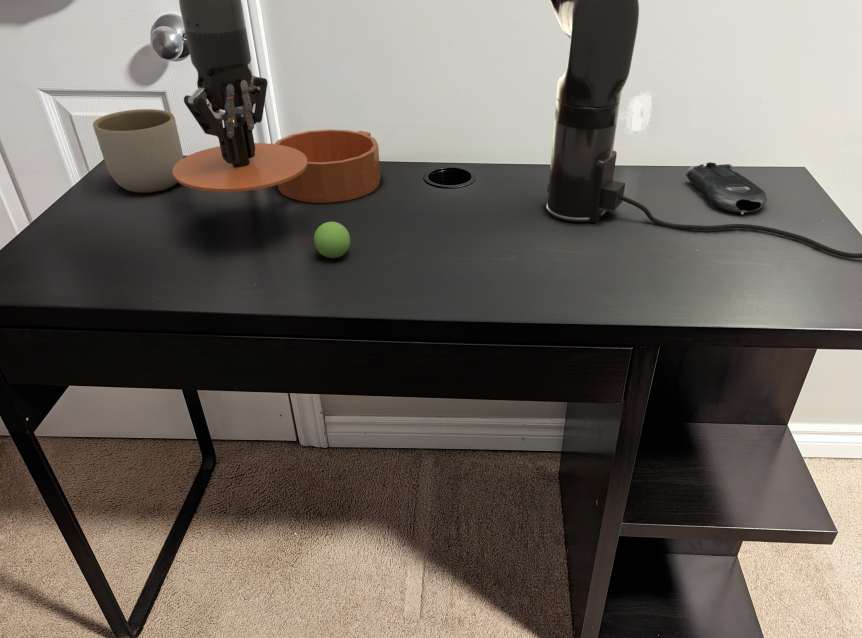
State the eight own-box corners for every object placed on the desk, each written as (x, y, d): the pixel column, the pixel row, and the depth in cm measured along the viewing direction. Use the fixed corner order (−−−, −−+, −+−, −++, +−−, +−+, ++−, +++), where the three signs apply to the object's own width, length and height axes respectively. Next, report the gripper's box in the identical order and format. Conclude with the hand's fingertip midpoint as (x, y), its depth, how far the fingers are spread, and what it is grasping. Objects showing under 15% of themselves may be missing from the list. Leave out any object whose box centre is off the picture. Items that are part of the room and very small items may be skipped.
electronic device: (677, 191, 120) (722, 214, 108) (686, 159, 118) (733, 178, 105) (724, 195, 123) (773, 217, 110) (733, 163, 120) (785, 182, 107)
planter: (96, 191, 115) (74, 125, 109) (149, 167, 124) (132, 105, 118) (154, 203, 111) (135, 135, 105) (204, 177, 121) (190, 114, 114)
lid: (334, 163, 101) (329, 117, 97) (245, 206, 88) (235, 156, 84) (240, 142, 108) (232, 99, 104) (145, 180, 95) (131, 132, 91)
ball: (358, 253, 98) (355, 220, 95) (337, 267, 94) (333, 233, 91) (330, 245, 100) (327, 213, 97) (309, 259, 96) (304, 226, 93)
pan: (407, 171, 124) (405, 135, 120) (328, 216, 108) (323, 176, 104) (330, 155, 130) (326, 120, 127) (245, 195, 114) (237, 156, 110)
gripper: (194, 37, 80) (224, 180, 91) (274, 19, 90) (293, 150, 101) (150, 30, 83) (184, 170, 94) (232, 14, 93) (254, 142, 103)
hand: (240, 159), depth 97 cm, fingers closed on lid, 2 cm apart
